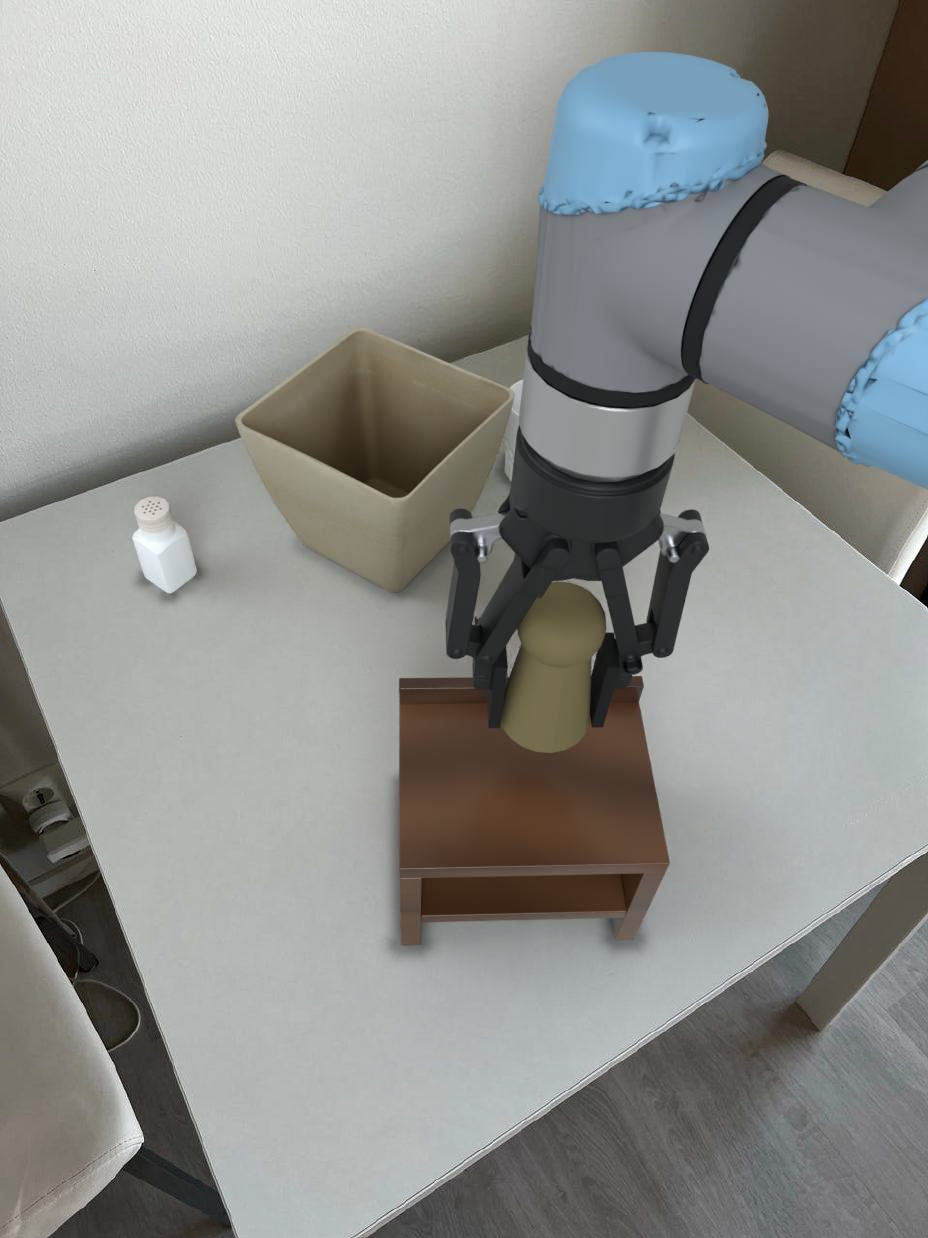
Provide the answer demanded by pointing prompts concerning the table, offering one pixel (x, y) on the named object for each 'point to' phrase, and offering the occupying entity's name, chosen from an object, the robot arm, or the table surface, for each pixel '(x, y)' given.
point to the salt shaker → (162, 545)
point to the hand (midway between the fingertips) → (544, 710)
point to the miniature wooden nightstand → (523, 816)
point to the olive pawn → (554, 669)
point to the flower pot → (376, 452)
